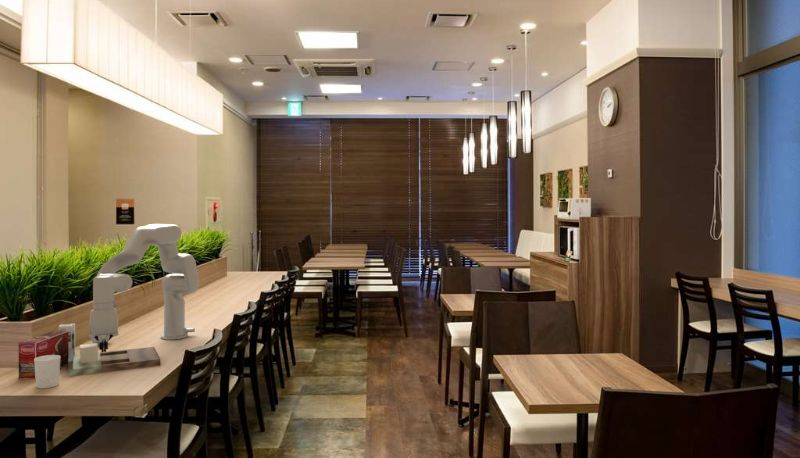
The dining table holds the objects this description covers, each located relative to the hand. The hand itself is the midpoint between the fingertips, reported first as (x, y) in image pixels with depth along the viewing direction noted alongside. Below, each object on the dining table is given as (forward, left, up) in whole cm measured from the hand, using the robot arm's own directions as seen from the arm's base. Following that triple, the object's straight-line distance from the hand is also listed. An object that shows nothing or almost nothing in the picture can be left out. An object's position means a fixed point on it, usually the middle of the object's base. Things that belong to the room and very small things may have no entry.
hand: (103, 351), depth 219 cm
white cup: (+18, +21, -6) cm, 28 cm away
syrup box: (+13, -17, -6) cm, 22 cm away
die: (0, -39, -6) cm, 40 cm away
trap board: (-4, 0, -6) cm, 7 cm away
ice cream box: (+20, -1, -6) cm, 21 cm away
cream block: (+5, 0, -3) cm, 6 cm away
